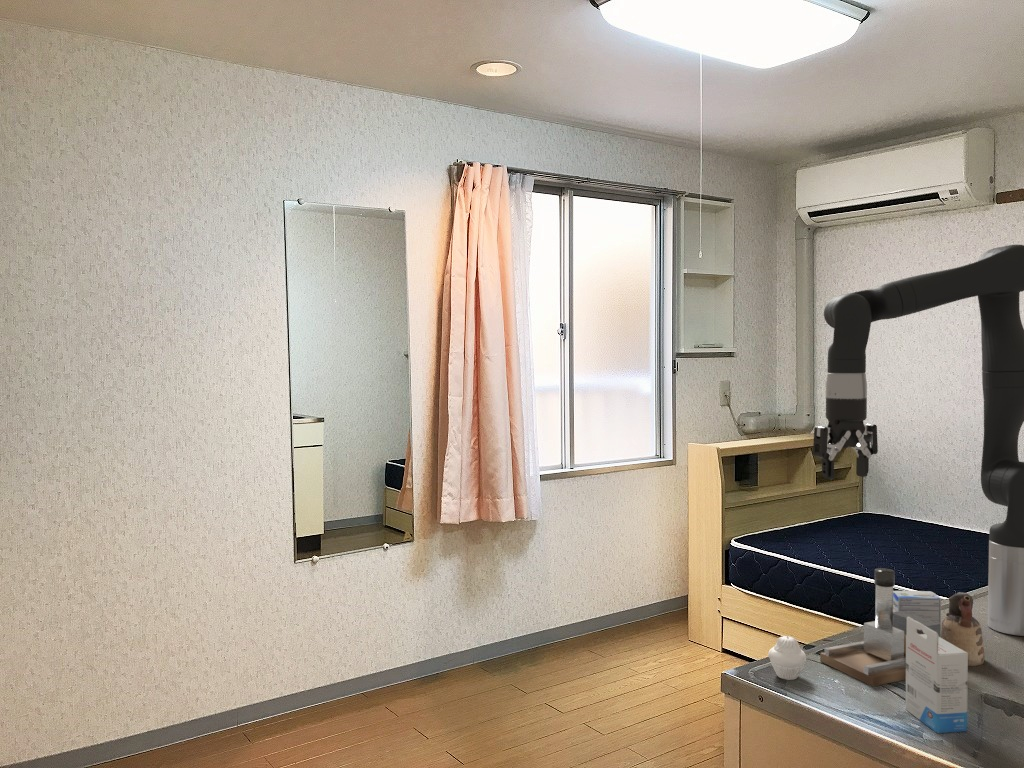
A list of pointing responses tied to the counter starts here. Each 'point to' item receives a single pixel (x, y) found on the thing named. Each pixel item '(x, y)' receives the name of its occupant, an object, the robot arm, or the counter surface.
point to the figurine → (963, 628)
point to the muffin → (787, 658)
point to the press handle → (884, 621)
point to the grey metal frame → (898, 623)
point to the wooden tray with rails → (857, 661)
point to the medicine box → (918, 604)
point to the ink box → (935, 680)
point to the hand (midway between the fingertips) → (845, 477)
